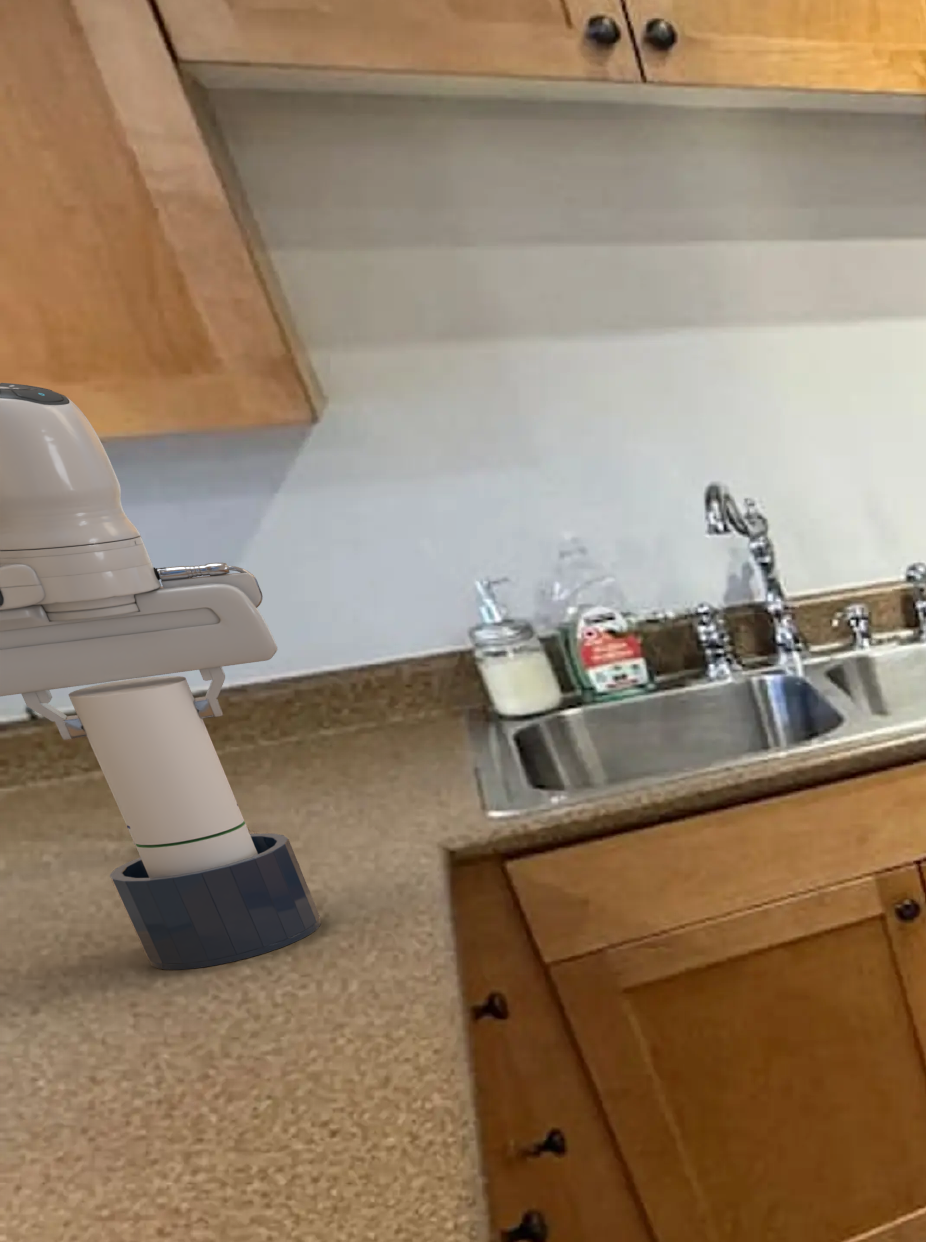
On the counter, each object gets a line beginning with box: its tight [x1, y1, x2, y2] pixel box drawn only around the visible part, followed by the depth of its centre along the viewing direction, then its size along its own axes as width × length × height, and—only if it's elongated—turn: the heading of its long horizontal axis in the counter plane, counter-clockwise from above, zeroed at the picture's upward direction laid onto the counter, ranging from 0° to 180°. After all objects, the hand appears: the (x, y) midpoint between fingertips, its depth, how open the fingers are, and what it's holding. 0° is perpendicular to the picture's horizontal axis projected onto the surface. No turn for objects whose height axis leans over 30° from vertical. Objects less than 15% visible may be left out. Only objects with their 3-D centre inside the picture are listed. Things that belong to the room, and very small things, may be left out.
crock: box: [109, 833, 322, 971], centre depth 125 cm, size 12×12×9 cm
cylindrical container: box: [68, 675, 258, 878], centre depth 122 cm, size 7×7×25 cm
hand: (145, 726), depth 119 cm, fingers closed on cylindrical container, 7 cm apart
